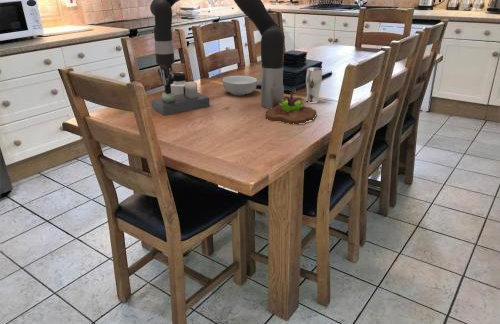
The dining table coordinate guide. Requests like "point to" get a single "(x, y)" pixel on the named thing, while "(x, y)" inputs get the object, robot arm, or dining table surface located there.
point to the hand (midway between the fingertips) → (168, 93)
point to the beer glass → (313, 83)
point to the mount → (180, 104)
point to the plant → (291, 111)
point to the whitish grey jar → (191, 90)
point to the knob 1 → (168, 97)
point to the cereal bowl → (239, 84)
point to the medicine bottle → (178, 84)
